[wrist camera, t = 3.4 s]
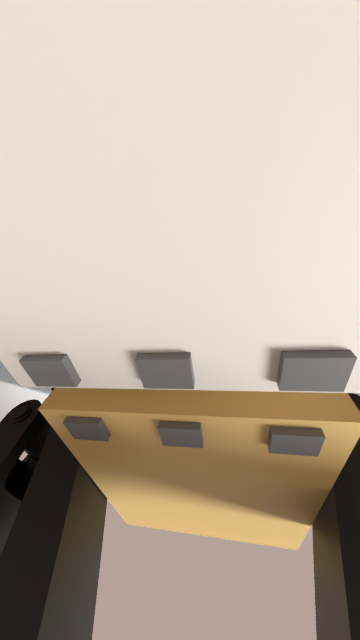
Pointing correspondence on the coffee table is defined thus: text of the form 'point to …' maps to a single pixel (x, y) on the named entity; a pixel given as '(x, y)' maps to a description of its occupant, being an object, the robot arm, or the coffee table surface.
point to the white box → (180, 194)
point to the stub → (210, 456)
